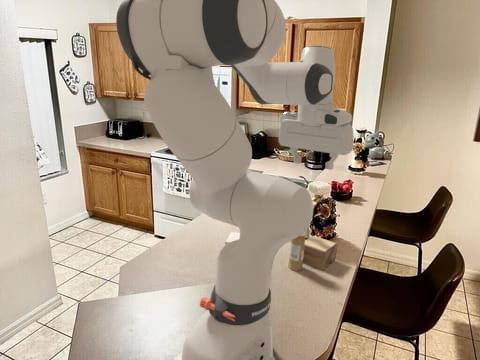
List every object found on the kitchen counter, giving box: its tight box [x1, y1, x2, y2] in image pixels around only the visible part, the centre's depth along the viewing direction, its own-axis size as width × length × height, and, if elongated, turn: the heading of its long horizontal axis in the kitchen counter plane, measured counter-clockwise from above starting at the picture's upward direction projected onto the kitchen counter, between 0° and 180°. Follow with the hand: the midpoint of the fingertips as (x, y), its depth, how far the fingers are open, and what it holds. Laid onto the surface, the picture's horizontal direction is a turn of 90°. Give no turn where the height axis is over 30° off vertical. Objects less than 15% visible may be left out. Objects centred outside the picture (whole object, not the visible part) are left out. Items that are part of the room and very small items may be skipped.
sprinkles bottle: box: [287, 228, 308, 271], centre depth 112 cm, size 5×5×14 cm
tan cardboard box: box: [303, 235, 338, 271], centre depth 118 cm, size 9×9×6 cm
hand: (312, 166), depth 96 cm, fingers open, 8 cm apart
